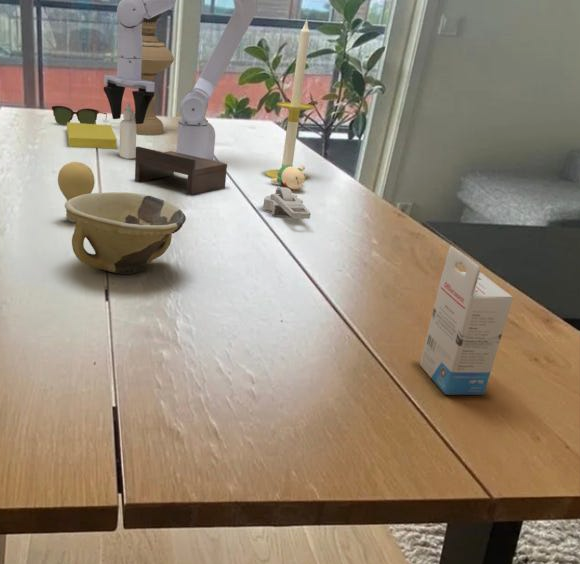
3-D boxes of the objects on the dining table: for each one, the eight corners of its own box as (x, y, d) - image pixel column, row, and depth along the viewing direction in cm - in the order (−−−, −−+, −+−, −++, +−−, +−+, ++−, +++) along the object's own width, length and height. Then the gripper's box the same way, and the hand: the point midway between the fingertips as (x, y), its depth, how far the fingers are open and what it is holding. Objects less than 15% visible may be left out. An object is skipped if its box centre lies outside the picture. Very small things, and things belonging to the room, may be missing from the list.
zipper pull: (279, 229, 142) (282, 206, 140) (258, 205, 157) (261, 183, 155) (320, 231, 143) (323, 207, 141) (296, 206, 158) (299, 184, 156)
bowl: (93, 294, 108) (93, 225, 103) (49, 255, 121) (47, 192, 116) (202, 281, 115) (207, 216, 110) (150, 247, 128) (152, 187, 123)
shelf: (169, 174, 177) (171, 141, 173) (225, 187, 169) (228, 153, 165) (134, 180, 169) (135, 146, 165) (190, 195, 161) (193, 159, 157)
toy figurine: (270, 190, 179) (283, 199, 168) (264, 171, 176) (277, 179, 166) (303, 175, 178) (318, 183, 168) (297, 156, 176) (312, 163, 165)
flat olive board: (116, 148, 199) (110, 132, 219) (116, 139, 198) (110, 124, 217) (69, 146, 197) (67, 130, 217) (69, 137, 196) (66, 122, 216)
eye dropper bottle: (137, 155, 193) (138, 102, 186) (134, 159, 188) (136, 106, 182) (119, 154, 193) (121, 101, 186) (117, 158, 188) (118, 104, 182)
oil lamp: (117, 125, 229) (120, -35, 207) (167, 128, 231) (175, -31, 209) (120, 134, 216) (123, -36, 194) (172, 137, 218) (181, -31, 196)
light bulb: (100, 220, 140) (101, 162, 135) (82, 227, 135) (82, 167, 130) (70, 214, 142) (69, 157, 137) (52, 221, 137) (50, 162, 132)
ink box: (485, 396, 88) (525, 269, 79) (443, 396, 87) (479, 268, 79) (456, 365, 95) (490, 245, 87) (417, 364, 94) (448, 243, 86)
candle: (259, 176, 181) (278, 16, 163) (271, 169, 189) (290, 15, 171) (300, 182, 178) (324, 20, 160) (311, 174, 186) (334, 19, 168)
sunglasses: (50, 123, 224) (50, 105, 222) (65, 121, 237) (65, 103, 235) (98, 128, 223) (99, 109, 220) (110, 125, 236) (111, 107, 233)
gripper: (95, 54, 179) (94, 117, 187) (141, 61, 172) (139, 127, 179) (116, 53, 184) (114, 115, 192) (161, 60, 177) (158, 124, 184)
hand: (127, 121), depth 186 cm, fingers open, 7 cm apart
